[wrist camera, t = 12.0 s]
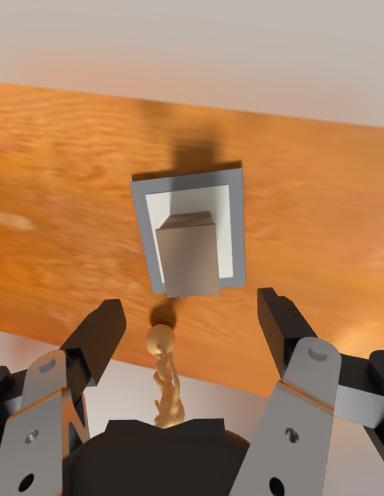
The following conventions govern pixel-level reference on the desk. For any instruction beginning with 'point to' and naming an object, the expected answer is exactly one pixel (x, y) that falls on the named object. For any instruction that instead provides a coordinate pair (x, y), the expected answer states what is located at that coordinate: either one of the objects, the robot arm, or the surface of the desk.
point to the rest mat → (190, 201)
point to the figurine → (165, 376)
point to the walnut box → (189, 255)
